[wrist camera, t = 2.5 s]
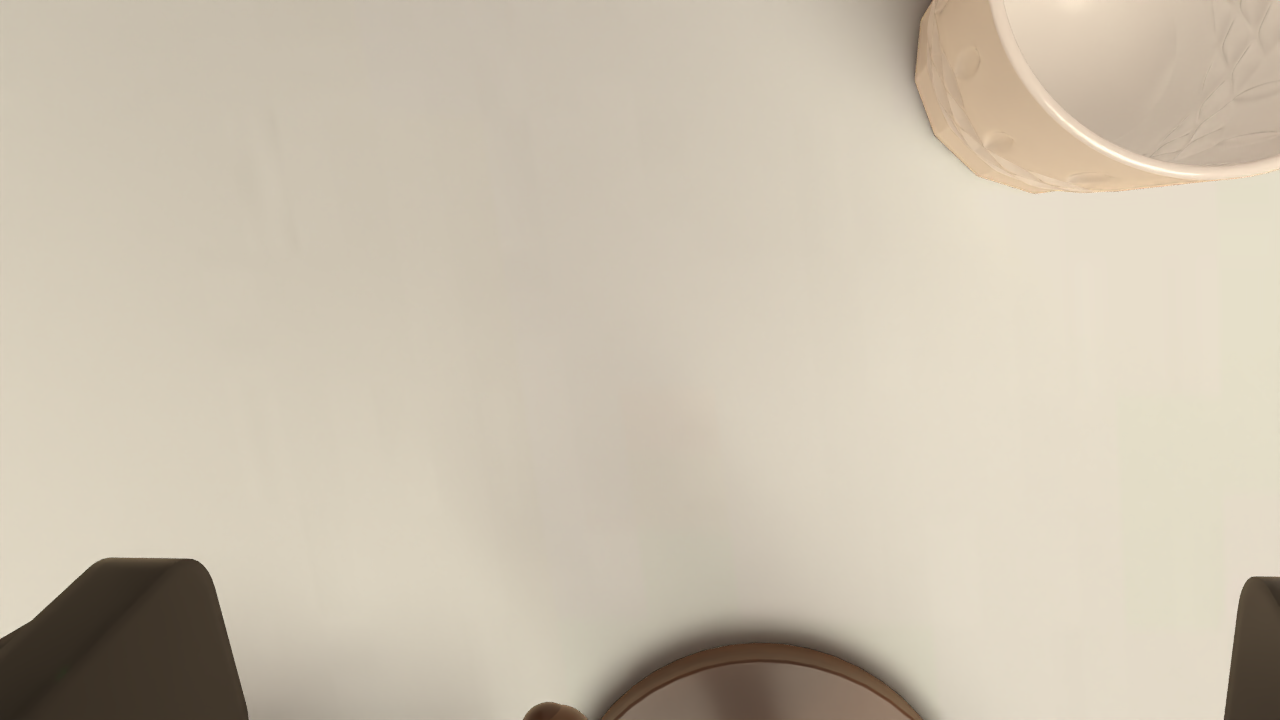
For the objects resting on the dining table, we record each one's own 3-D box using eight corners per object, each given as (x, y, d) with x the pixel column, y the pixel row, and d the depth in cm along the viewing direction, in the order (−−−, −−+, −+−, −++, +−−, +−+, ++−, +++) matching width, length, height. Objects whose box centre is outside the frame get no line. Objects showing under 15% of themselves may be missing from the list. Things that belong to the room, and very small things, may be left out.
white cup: (1183, 228, 30) (1425, 197, 20) (876, 204, 30) (963, 161, 20) (1218, -84, 29) (1484, -275, 19) (905, -105, 30) (1010, -303, 20)
